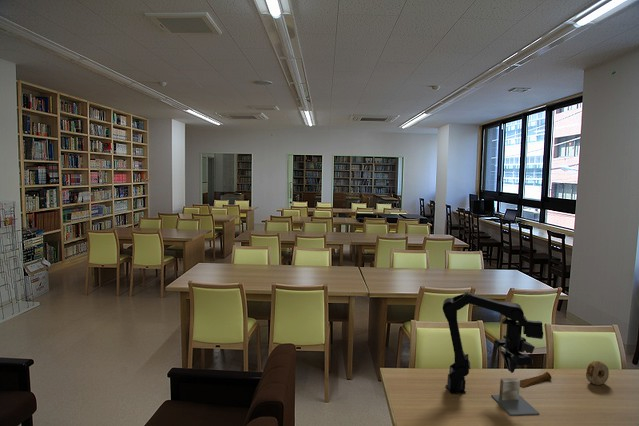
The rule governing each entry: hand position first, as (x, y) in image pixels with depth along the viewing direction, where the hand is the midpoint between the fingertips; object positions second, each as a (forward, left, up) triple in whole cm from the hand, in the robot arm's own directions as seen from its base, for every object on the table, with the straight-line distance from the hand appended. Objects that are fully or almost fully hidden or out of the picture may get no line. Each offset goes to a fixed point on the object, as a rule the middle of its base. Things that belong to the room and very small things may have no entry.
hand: (510, 371), depth 169 cm
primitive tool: (+19, +13, -13) cm, 27 cm away
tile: (0, 0, -12) cm, 12 cm away
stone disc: (+48, +10, -12) cm, 51 cm away
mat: (0, -4, -12) cm, 13 cm away
